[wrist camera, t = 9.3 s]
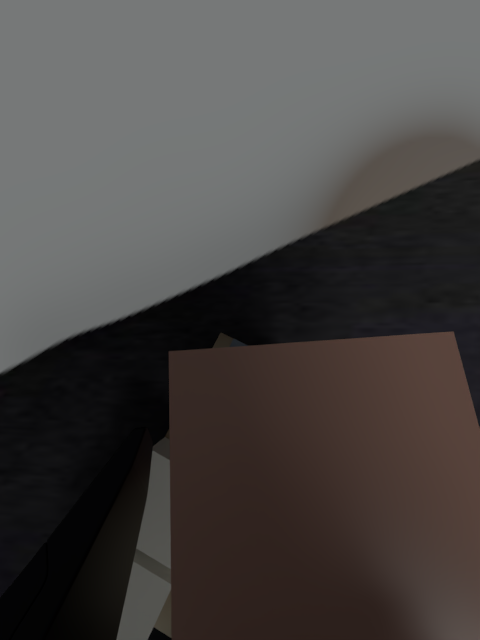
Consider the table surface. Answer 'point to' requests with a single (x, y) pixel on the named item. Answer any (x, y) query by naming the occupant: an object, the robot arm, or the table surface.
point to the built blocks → (150, 554)
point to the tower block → (324, 491)
